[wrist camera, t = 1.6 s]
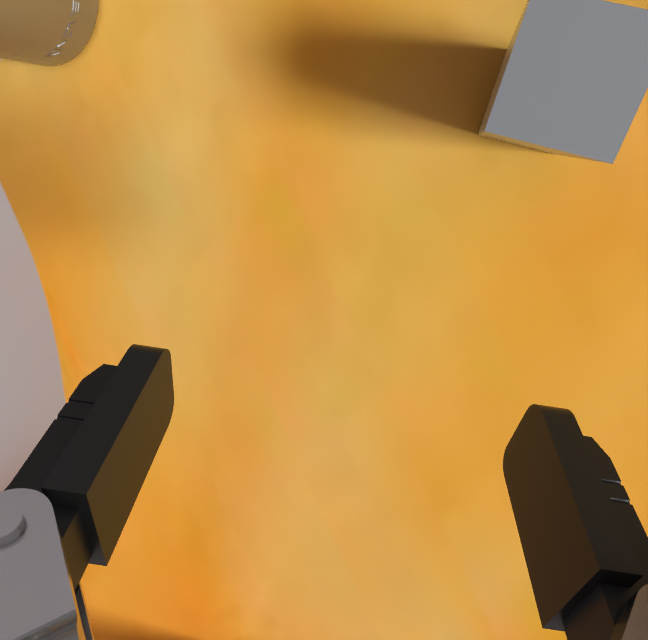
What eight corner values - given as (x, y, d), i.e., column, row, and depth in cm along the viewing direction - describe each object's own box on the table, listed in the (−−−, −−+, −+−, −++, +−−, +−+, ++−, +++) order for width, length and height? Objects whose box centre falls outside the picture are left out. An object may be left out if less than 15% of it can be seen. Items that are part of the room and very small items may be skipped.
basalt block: (477, 134, 28) (484, 131, 18) (507, 49, 27) (534, -14, 16) (555, 154, 28) (612, 163, 17) (591, 67, 26) (680, 16, 15)
